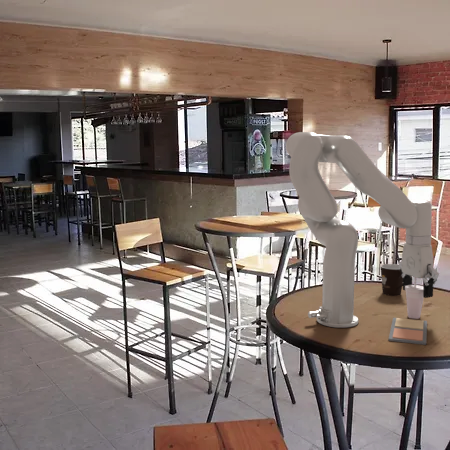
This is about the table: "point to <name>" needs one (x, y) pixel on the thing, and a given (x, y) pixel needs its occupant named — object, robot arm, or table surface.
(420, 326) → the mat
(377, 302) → the table surface
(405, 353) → the table surface
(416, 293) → the smoothie
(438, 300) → the table surface
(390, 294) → the coffee mug
